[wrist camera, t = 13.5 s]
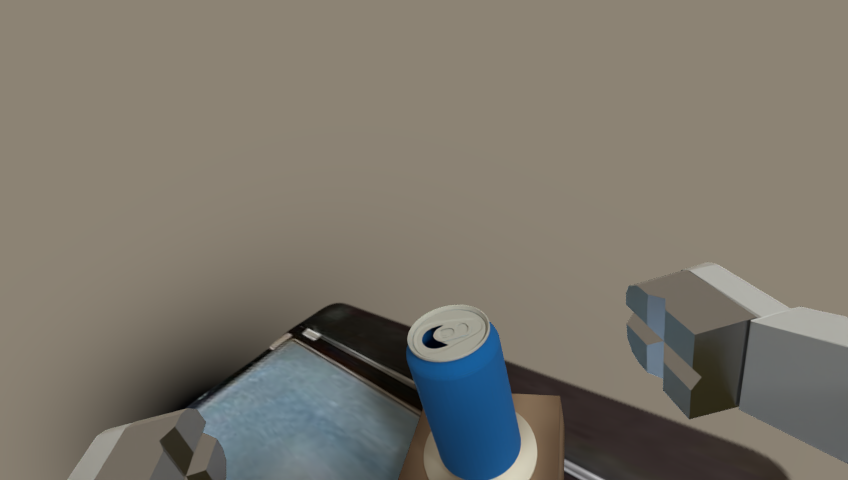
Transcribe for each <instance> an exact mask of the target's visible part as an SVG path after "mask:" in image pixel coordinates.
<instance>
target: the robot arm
mask: <svg viewBox="0 0 848 480" xmlns="http://www.w3.org/2000/svg"><path fill="white" fill-rule="evenodd" d="M626 305H627V306H628V307H629V308H630V309H631V310H632V311H633V312H634V313H633V315H632V316H631V318H630V319H629V321H628V323H627V336H628V341H629V343H630V346H631V349H632V352H633V354H634V355H635V357H636V359H637V360H638V362H639V363H640V364H641V365H642V367H643V368H644V369H645V370H646V371H647V372H648V373H650V374H653V375H655V376H658V377H660V378H663V391H664V392H665V393H666V394H667V395H668V396H669V397H670V398H671V400H672V401H673V402H674V403H675V404H676V405H677V406H678V407H679V409H680V410H681V411H682V412H683V413H684V414H685V415H686V416H687V417H688V419H693V418H697V417H700V416H704V415H708V414H712V413H716V412H720V411H724V410H728V409H731V408H735V407H739V410H741V411H743V412H745V413H747V414H749V415H751V416H753V417H755V418H757V419H759V420H761V421H763V422H765V423H767V424H769V425H771V426H773V427H775V428H777V429H779V430H781V431H783V432H785V433H787V434H789V435H791V436H793V437H795V438H797V439H799V440H801V441H803V442H805V443H807V444H809V445H811V446H813V447H815V448H817V449H819V450H821V451H823V452H825V453H827V454H829V455H831V456H833V457H835V458H837V459H839V460H841V461H843V462H845V463H847V464H848V317H845V316H840V315H836V314H831V313H827V312H823V311H818V310H813V309H809V308H805V307H797V308H793V309H790V308H789V307H787V306H785V305H784V304H782V303H780V302H779V301H777V300H775V299H774V298H772V297H770V296H769V295H767V294H766V293H764V292H762V291H761V290H759V289H757V288H756V287H754V286H752V285H751V284H749V283H747V282H746V281H744V280H743V279H741V278H739V277H737V276H736V275H734V274H732V273H731V272H729V271H728V270H726V269H724V268H723V267H721V266H719V265H718V264H714V263H710V262H706V263H703V264H700V265H696V266H693V267H690V268H687V269H683V270H681V271H680V272H676V273H672V274H669V275H665V276H662V277H658V278H655V279H651V280H648V281H644V282H641V283H637V284H634V285H630V286H629V287H628V290H627V292H626ZM205 424H206V421H205V420H204V419H203V417H202V416H201V415H200V413H199V412H198V410H197V409H190V408H187V409H183V410H179V411H175V412H172V413H168V414H164V415H160V416H156V417H152V418H148V419H144V420H140V421H136V422H134V423H130V424H126V425H122V426H118V427H115V428H111V429H107V430H106V431H104V432H103V433H101V434H99V435H97V436H96V438H95V439H94V441H93V442H92V444H91V445H90V447H89V448H88V450H87V451H86V452H85V454H84V455H83V457H82V458H81V460H80V461H79V463H78V464H77V466H76V467H75V469H74V471H73V472H72V473H71V475H70V476H69V478H68V479H67V480H226V458H225V455H224V451H223V448H222V446H221V445H220V443H219V442H218V440H217V439H216V438H214V437H211V436H209V435H207V434H205V433H203V431H204V427H205Z"/></svg>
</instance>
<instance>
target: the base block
mask: <svg viewBox="0 0 848 480" xmlns="http://www.w3.org/2000/svg"><path fill="white" fill-rule="evenodd" d="M512 399H513V403H514V408H515V413H516V417H517V422H518V427H519V431H520V436H521V448H520V452H519V455H518V457H517V459H516V461H515V463H514V464H513V465H512V466H511V468H510V469H508V470H507V471H506V472H505V473H503V474H502V475H500V476H498V477H496V478H494V479H491V480H564V432H565V427H564V421H563V414H562V407H561V401H560V396H548V395H528V394H512ZM398 480H464V479H461V478H459V477H457V476H455V475H453V474H452V473H451V472H450V471H449V470H448V469H447V468H446V467H445V465H444V464H443V462H442V460H441V458H440V455H439V452H438V449H437V446H436V443H435V440H434V437H433V435H432V432H431V429H430V426H429V423H428V420H427V417H426V414H425V411H424V409H423V410H422V413H421V416H420V419H419V422H418V424H417V427H416V430H415V433H414V436H413V439H412V441H411V444H410V447H409V450H408V453H407V456H406V458H405V461H404V464H403V467H402V470H401V473H400V476H399V478H398Z"/></svg>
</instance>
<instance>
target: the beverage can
mask: <svg viewBox="0 0 848 480" xmlns="http://www.w3.org/2000/svg"><path fill="white" fill-rule="evenodd" d="M407 340H408V346H407V352H406V356H407V362H408V365H409V368H410V371H411V374H412V377H413V380H414V383H415V385H416V388H417V391H418V394H419V397H420V400H421V403H422V406H423V409H424V411H425V414H426V417H427V420H428V423H429V426H430V429H431V432H432V435H433V437H434V440H435V443H436V446H437V449H438V452H439V455H440V458H441V460H442V462H443V464H444V465H445V467H446V468H447V469H448V470H449V471H450V472H451V473H452V474H453V475H455V476H457V477H459V478H461V479H464V480H491V479H494V478H496V477H498V476H500V475H502V474H503V473H505V472H506V471H507V470H508V469H510V468H511V466H512V465H513V464H514V463H515V461H516V459H517V457H518V455H519V452H520V448H521V436H520V431H519V427H518V422H517V417H516V413H515V408H514V403H513V399H512V394H511V390H510V385H509V380H508V376H507V371H506V366H505V362H504V357H503V353H502V348H501V343H500V339H499V335H498V332H497V330H496V329H495V327H494V326H493V325H492V324H491V323H490V322H489V320H488V318H487V316H486V315H485V314H484V313H483V312H482V311H481V310H479V309H477V308H475V307H472V306H468V305H449V306H444V307H440V308H437V309H434V310H432V311H430V312H428V313H426V314H425V315H423V316H422V317H420V318H419V319H418V320H417V321H416V322H415V323H414V324H413V326H412V327H411V329H410V331H409V333H408V338H407Z"/></svg>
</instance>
